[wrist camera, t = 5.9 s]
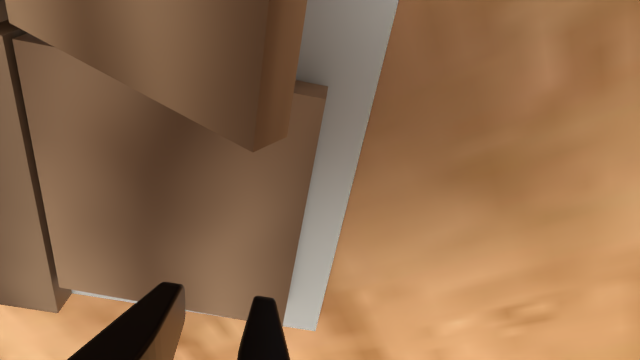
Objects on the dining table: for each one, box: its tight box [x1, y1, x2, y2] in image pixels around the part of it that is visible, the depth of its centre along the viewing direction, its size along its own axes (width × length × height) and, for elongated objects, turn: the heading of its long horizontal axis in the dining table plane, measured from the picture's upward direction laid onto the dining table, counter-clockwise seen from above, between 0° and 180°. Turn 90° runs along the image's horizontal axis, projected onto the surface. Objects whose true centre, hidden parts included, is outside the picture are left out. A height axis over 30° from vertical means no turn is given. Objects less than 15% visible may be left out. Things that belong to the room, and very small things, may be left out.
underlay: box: [71, 0, 399, 331], centre depth 16 cm, size 12×26×1 cm, turn 170°
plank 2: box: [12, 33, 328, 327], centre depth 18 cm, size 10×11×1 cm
